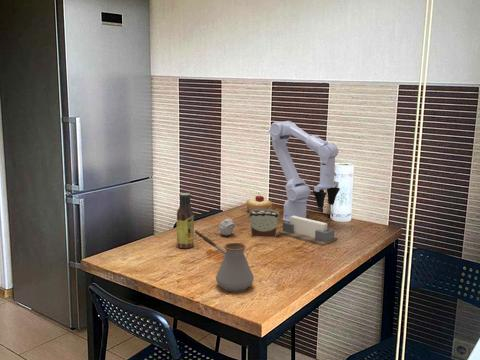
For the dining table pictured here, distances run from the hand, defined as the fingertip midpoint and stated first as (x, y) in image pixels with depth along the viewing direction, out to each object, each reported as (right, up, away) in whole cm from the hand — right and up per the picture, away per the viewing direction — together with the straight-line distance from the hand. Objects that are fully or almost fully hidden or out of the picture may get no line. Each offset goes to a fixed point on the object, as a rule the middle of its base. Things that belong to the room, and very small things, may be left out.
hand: (325, 206), depth 219 cm
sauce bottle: (-55, -14, -22) cm, 61 cm away
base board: (-9, -12, -10) cm, 17 cm away
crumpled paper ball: (-41, -11, -9) cm, 43 cm away
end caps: (-9, -12, -10) cm, 17 cm away
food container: (-26, -11, -8) cm, 29 cm away
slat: (-9, -11, -10) cm, 17 cm away
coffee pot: (-41, -21, -55) cm, 72 cm away
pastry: (-26, -4, +26) cm, 37 cm away
